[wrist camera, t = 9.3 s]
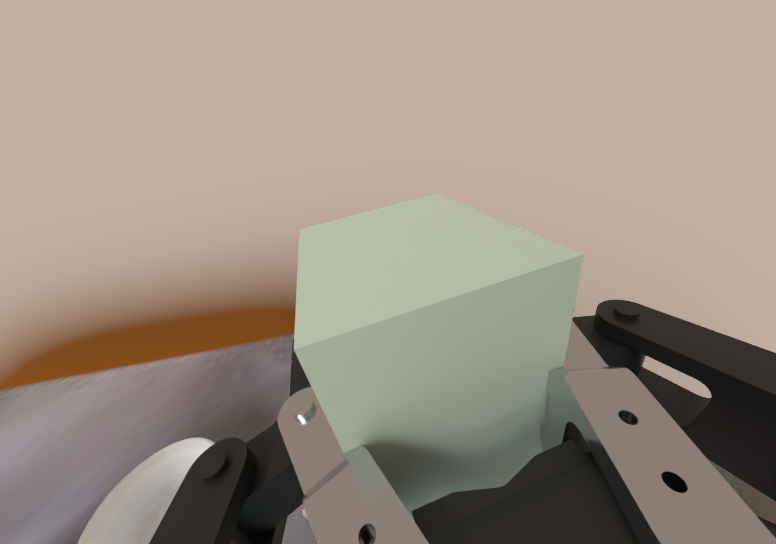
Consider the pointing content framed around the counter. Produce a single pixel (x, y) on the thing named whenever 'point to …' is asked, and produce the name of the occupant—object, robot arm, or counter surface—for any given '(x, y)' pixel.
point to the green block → (434, 340)
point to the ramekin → (143, 496)
